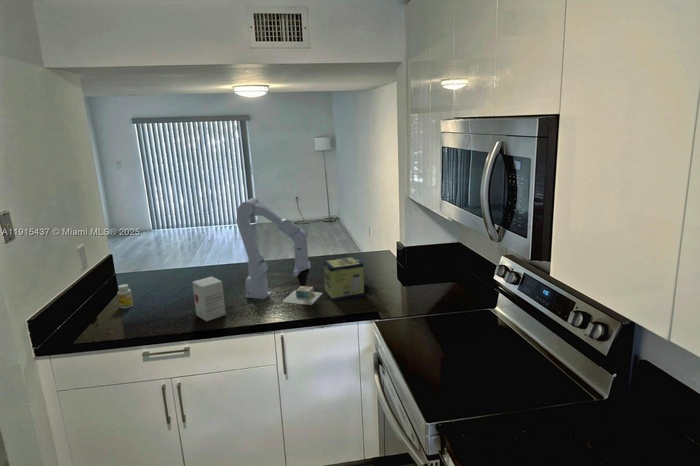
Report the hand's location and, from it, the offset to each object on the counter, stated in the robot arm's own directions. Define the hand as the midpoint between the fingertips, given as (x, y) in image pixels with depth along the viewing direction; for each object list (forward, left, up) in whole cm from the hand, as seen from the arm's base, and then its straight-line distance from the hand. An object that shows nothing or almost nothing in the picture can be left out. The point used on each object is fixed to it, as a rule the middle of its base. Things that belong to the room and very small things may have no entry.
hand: (303, 285), depth 202 cm
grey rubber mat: (0, -1, -5) cm, 5 cm away
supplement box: (-30, -27, -6) cm, 41 cm away
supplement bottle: (-72, -28, -6) cm, 77 cm away
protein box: (+17, +7, -6) cm, 19 cm away
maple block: (0, -2, -4) cm, 4 cm away
